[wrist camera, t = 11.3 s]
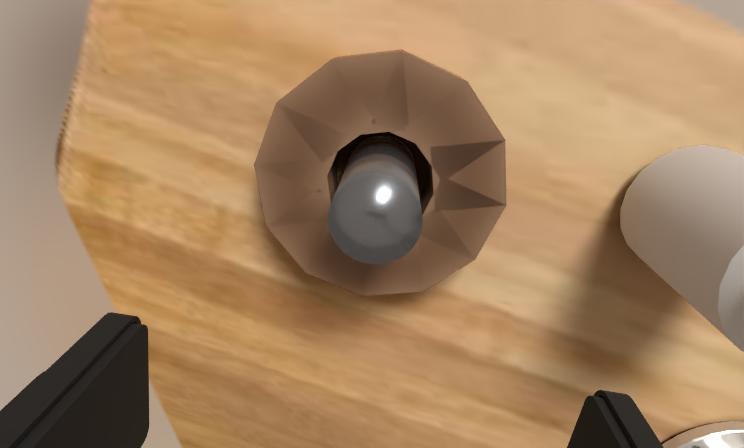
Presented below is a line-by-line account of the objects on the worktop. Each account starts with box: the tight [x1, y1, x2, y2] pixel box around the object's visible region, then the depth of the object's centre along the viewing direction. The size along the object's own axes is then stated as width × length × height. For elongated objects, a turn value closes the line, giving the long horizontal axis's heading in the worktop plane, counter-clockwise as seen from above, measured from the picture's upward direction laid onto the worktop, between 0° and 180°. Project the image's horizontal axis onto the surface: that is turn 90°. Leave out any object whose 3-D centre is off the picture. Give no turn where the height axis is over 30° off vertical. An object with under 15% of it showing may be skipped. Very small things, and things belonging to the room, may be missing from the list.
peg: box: [328, 135, 423, 264], centre depth 25 cm, size 4×4×9 cm
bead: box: [254, 50, 506, 296], centre depth 28 cm, size 13×13×4 cm
